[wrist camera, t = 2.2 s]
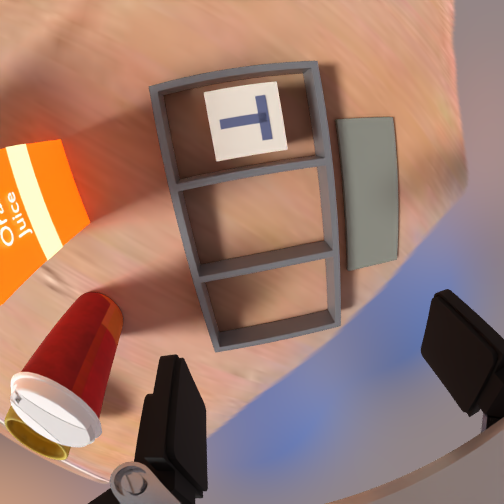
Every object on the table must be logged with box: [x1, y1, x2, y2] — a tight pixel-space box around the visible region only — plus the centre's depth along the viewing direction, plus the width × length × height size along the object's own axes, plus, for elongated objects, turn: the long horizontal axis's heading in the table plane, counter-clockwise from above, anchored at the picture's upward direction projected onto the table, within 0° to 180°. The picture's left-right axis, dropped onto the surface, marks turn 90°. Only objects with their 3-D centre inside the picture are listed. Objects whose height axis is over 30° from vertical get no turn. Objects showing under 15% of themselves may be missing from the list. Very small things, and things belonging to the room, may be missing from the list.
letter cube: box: [204, 81, 288, 162], centre depth 21 cm, size 5×5×5 cm
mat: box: [335, 117, 398, 271], centre depth 27 cm, size 15×6×1 cm, turn 9°
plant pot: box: [5, 405, 70, 460], centre depth 29 cm, size 10×10×10 cm
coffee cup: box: [10, 292, 123, 447], centre depth 22 cm, size 8×8×15 cm
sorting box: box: [149, 61, 341, 352], centre depth 25 cm, size 25×13×2 cm, turn 9°
